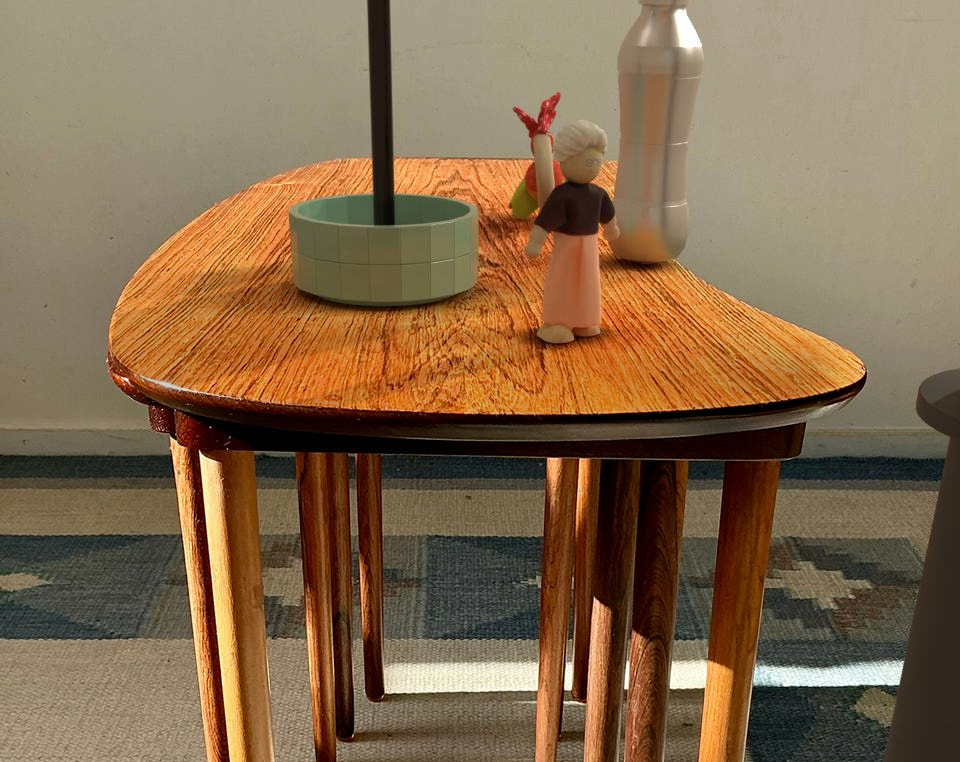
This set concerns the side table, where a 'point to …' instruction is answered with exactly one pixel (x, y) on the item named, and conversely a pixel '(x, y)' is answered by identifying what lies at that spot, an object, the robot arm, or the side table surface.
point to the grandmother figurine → (574, 236)
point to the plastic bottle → (655, 131)
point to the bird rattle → (538, 162)
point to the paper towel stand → (381, 110)
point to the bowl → (384, 249)
